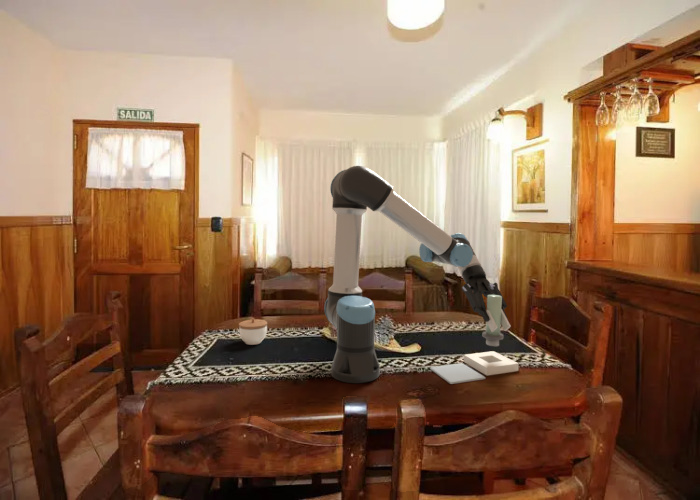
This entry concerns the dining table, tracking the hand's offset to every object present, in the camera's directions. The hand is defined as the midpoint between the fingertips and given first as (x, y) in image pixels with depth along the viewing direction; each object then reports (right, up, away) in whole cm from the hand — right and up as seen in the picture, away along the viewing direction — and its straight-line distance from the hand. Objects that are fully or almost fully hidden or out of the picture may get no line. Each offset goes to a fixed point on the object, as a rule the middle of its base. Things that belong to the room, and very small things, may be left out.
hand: (501, 329), depth 122 cm
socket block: (-2, -13, +4) cm, 14 cm away
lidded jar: (-86, -11, +28) cm, 91 cm away
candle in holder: (-1, -6, +4) cm, 7 cm away
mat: (-15, -14, -2) cm, 20 cm away
